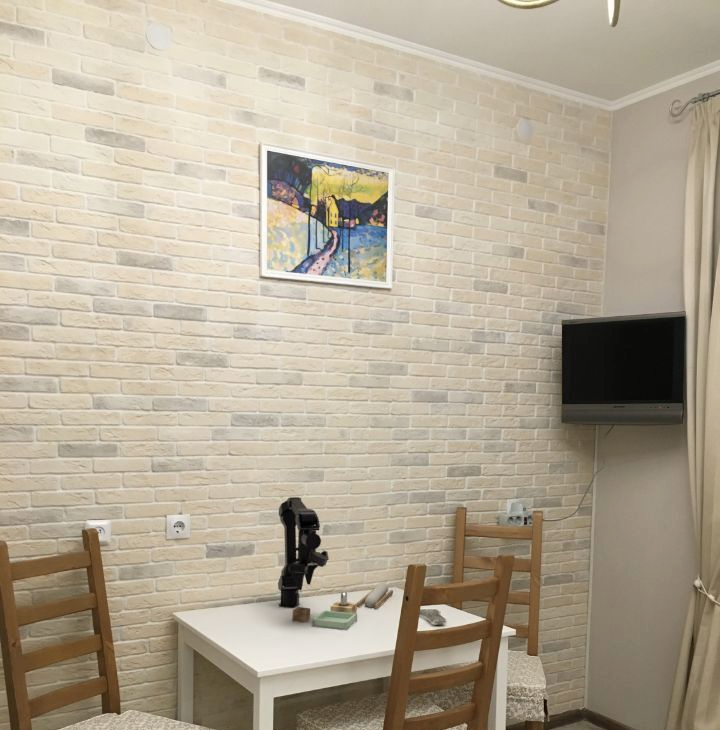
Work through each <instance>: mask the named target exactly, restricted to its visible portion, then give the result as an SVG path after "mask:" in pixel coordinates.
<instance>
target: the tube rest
mask: <svg viewBox="0 0 720 730" xmlns="http://www.w3.org/2000/svg"><path fill="white" fill-rule="evenodd" d="M374 589H375V588H373V589H372V590H370V591H369V592H368V593H367V594H366V595H365V596H364V597H362V598H360V600H359V601H357V602H356V603H357V607H359V608H361V607H362V606H363V605H365V599H366V598H367V596H368V595H369V594H370V593H371V592H372V591H373V590H374ZM392 594H393V595H394V590H393V589H390V590H388V592H387V593H386V594H384V596H383V597H382V598H381V599H380V600H379V601H378V602H377V603H376V604H375V605H374V610H376V609H377V608H378V607H379V606H380V605H381V604H382V603H383V602H384V603H386V602H387V601H388V600H389V599H390V598H391V597H392V596H393V595H392ZM391 595H392V596H391ZM390 596H391V597H390ZM389 597H390V598H389ZM388 598H389V599H388ZM387 599H388V600H387ZM386 600H387V601H386ZM384 603H383V604H384ZM362 604H363V605H362ZM383 604H382V605H383ZM361 605H362V606H361ZM382 605H381V606H382ZM360 606H361V607H360ZM381 606H380V607H381ZM380 607H379V608H380ZM379 608H378V609H379ZM378 609H377V610H378Z"/></svg>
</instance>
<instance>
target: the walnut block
mask: <svg viewBox="0 0 720 730" xmlns="http://www.w3.org/2000/svg"><path fill="white" fill-rule="evenodd" d="M309 620H311V607H303V606H302V607H300V606H296V608H295V607H294V609H292V622H295V621H298V623H304V622H305V623H307V622H309ZM306 621H307V622H306Z"/></svg>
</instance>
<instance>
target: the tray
mask: <svg viewBox="0 0 720 730" xmlns="http://www.w3.org/2000/svg"><path fill="white" fill-rule="evenodd" d="M357 621H358V613H355V614H354V613H344V612H335V611H331V610H325V609H324V610H322V611H321V612H320V613H319V614H317V615H316V616H315V617H314V618H312V619H311V622H312V623H311V624H312V625H311V626H312V627H314V626H316V627H317V628H322V629H324V628H325V629H333V630H341V631H347V630H348V629H349V628H351V627H352V626H353V625H354V624H355V623H357ZM354 622H355V623H354ZM353 623H354V624H353ZM352 624H353V625H352ZM351 625H352V626H351ZM350 626H351V627H350Z"/></svg>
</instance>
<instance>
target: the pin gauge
mask: <svg viewBox="0 0 720 730" xmlns="http://www.w3.org/2000/svg"><path fill="white" fill-rule="evenodd" d="M340 602H341V606H347V602H348V592H345V591H342V592H340Z"/></svg>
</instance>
